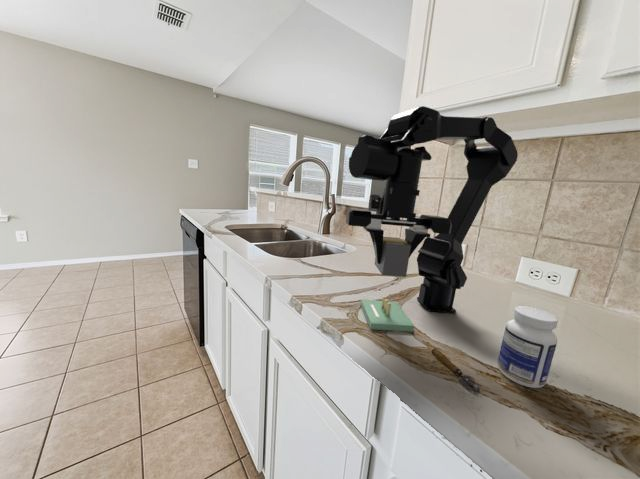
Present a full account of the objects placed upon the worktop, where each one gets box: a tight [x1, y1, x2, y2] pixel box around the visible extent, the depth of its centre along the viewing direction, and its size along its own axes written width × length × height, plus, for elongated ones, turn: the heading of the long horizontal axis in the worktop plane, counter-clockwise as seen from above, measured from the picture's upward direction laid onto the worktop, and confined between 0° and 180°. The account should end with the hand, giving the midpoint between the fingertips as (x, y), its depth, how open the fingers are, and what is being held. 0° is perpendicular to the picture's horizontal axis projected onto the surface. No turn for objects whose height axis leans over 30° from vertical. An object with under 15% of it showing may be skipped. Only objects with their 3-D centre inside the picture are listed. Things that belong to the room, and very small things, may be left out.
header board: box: [360, 295, 415, 333], centre depth 51 cm, size 10×8×4 cm
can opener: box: [431, 347, 481, 397], centre depth 37 cm, size 9×2×1 cm, turn 10°
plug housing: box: [374, 236, 411, 278], centre depth 49 cm, size 7×4×6 cm, turn 0°
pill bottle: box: [496, 305, 559, 389], centre depth 36 cm, size 6×6×10 cm
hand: (390, 264), depth 50 cm, fingers closed on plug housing, 4 cm apart
